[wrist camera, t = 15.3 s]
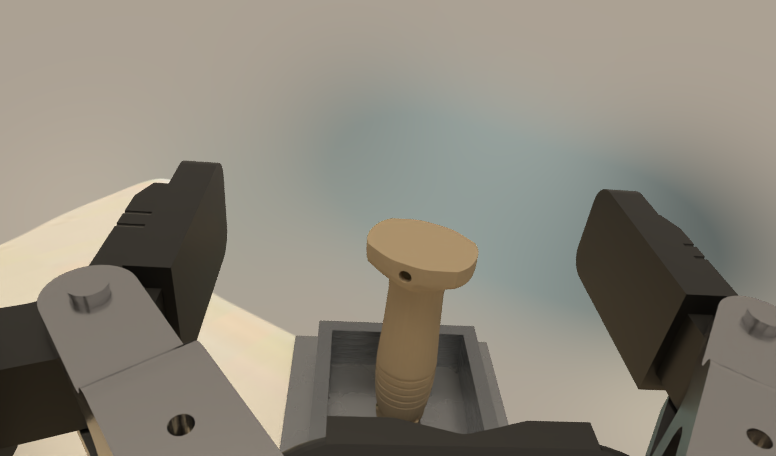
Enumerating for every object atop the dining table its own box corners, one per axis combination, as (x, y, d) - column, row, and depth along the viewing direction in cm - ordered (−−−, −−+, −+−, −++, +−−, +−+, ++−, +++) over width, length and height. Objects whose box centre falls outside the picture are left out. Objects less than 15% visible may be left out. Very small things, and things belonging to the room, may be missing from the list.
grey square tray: (269, 531, 33) (267, 489, 31) (295, 341, 47) (295, 302, 45) (533, 533, 35) (549, 493, 32) (485, 347, 48) (493, 310, 46)
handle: (372, 379, 43) (388, 210, 35) (451, 411, 41) (487, 239, 33) (342, 425, 39) (353, 247, 32) (428, 463, 37) (462, 283, 30)
